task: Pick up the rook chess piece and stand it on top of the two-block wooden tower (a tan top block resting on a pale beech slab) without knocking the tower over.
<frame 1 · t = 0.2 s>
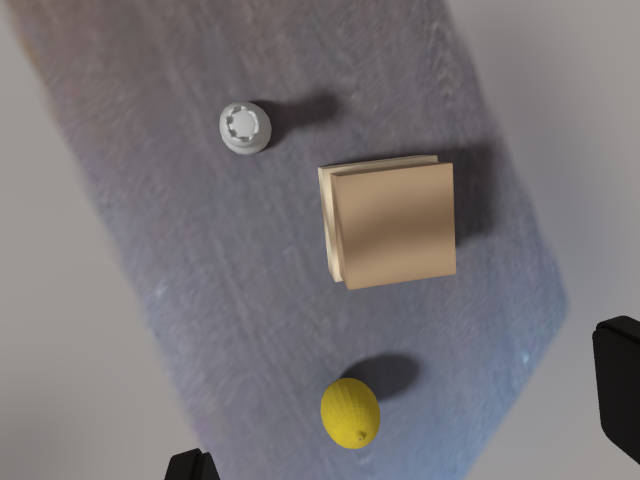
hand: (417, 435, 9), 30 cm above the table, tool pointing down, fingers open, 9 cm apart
lemon: (341, 386, 43), on the table
rook chess piece: (246, 129, 36), on the table
tan top block: (385, 219, 36), point 4 cm above the table, touching beech base block
beech base block: (373, 212, 40), on the table, touching tan top block
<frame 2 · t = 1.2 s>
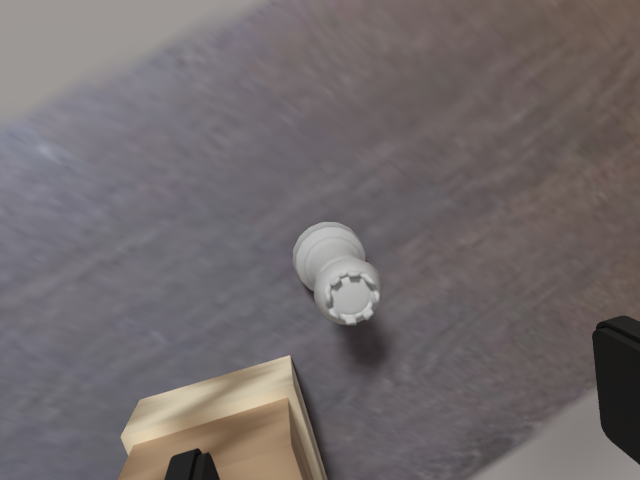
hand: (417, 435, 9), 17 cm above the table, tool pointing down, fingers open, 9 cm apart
rook chess piece: (326, 254, 26), on the table
beech base block: (238, 436, 28), on the table, touching tan top block
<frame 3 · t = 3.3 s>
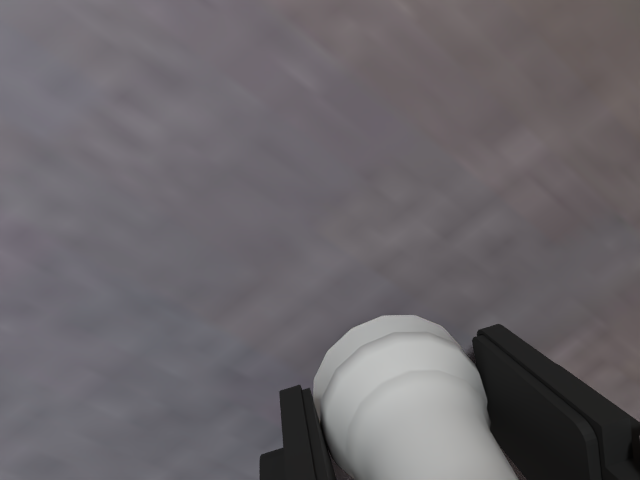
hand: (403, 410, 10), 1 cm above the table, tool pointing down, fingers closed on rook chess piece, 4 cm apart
rook chess piece: (385, 377, 12), on the table, touching gripper
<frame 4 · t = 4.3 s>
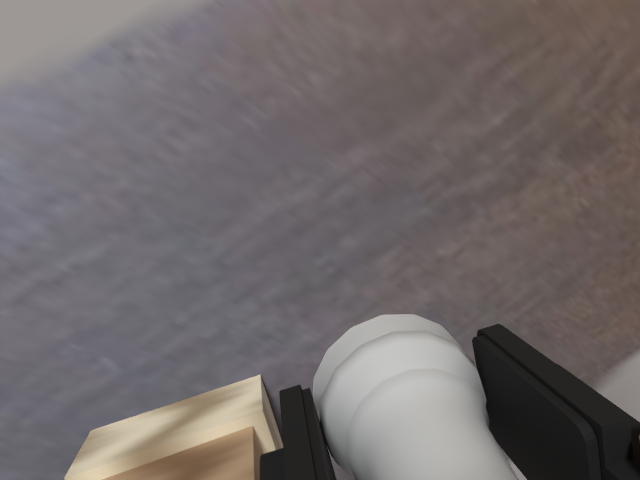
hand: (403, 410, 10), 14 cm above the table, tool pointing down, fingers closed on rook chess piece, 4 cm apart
rook chess piece: (384, 376, 12), point 12 cm above the table, touching gripper
beech base block: (205, 465, 26), on the table, touching tan top block
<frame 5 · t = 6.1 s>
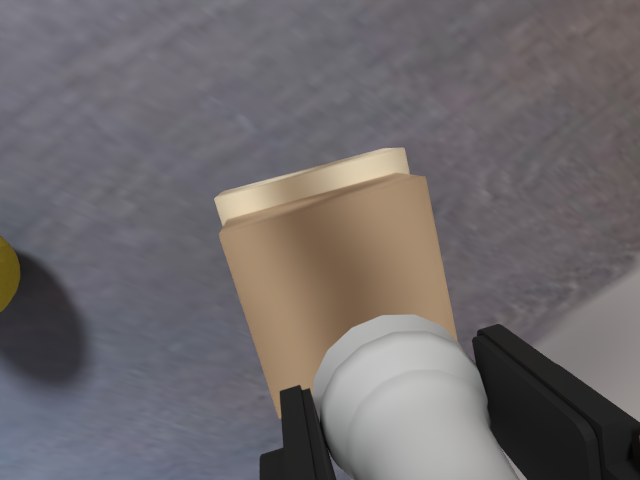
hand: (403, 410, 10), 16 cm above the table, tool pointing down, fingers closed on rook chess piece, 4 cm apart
rook chess piece: (385, 376, 12), point 14 cm above the table, touching gripper
tan top block: (334, 276, 22), point 4 cm above the table, touching beech base block
beech base block: (324, 247, 26), on the table, touching tan top block
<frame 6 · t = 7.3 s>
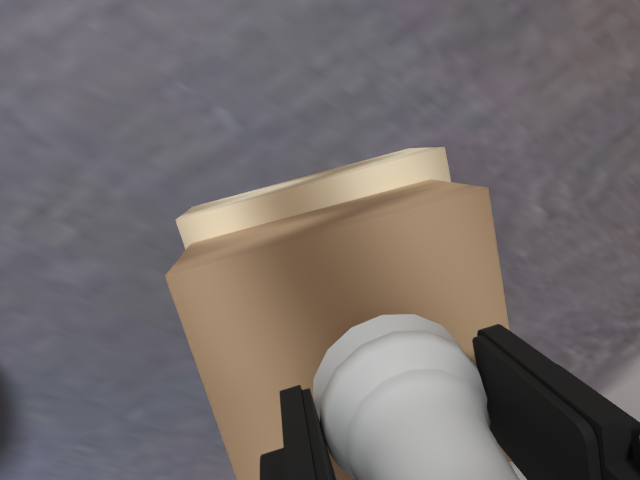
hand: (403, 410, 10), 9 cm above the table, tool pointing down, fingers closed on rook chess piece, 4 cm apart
rook chess piece: (385, 376, 12), point 8 cm above the table, touching gripper
tan top block: (341, 322, 16), point 4 cm above the table, touching beech base block
beech base block: (329, 278, 20), on the table, touching tan top block
when the fingers open (9 cm above the table, at t = 8.1 s): rook chess piece stays where it is, resting on tan top block.
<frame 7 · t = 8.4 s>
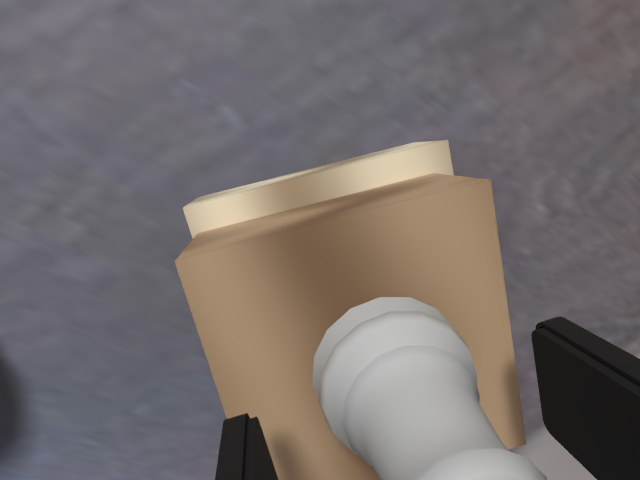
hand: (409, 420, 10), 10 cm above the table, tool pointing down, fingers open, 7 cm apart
rook chess piece: (381, 357, 13), point 7 cm above the table, touching tan top block
tan top block: (344, 312, 16), point 3 cm above the table, touching beech base block, rook chess piece
beech base block: (332, 270, 20), on the table, touching tan top block
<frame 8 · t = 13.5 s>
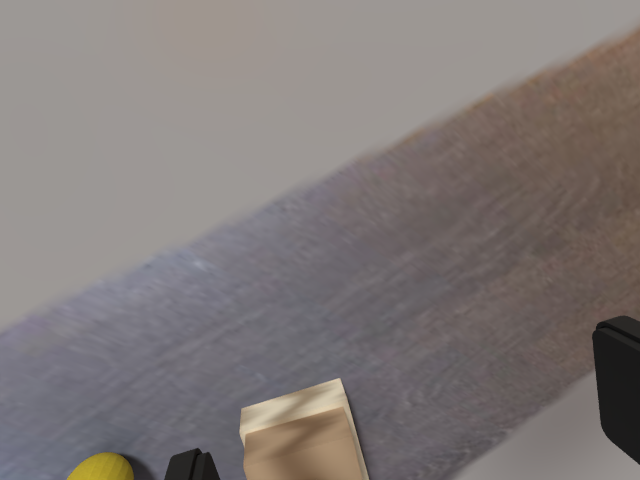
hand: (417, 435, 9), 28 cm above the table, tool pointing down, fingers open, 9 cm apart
lemon: (114, 457, 39), on the table
tan top block: (305, 461, 38), point 4 cm above the table, touching beech base block
beech base block: (303, 432, 42), on the table, touching tan top block
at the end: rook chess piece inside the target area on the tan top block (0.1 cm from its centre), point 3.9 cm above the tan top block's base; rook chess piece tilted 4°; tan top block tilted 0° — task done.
